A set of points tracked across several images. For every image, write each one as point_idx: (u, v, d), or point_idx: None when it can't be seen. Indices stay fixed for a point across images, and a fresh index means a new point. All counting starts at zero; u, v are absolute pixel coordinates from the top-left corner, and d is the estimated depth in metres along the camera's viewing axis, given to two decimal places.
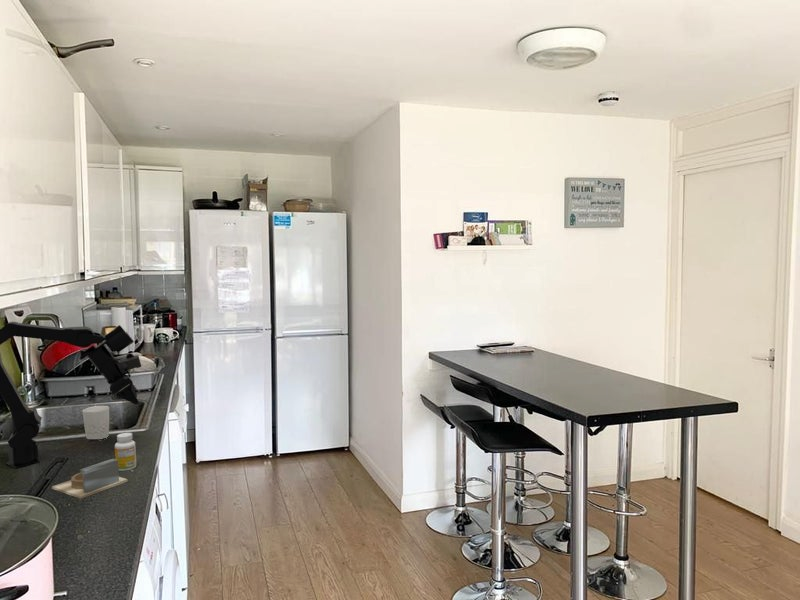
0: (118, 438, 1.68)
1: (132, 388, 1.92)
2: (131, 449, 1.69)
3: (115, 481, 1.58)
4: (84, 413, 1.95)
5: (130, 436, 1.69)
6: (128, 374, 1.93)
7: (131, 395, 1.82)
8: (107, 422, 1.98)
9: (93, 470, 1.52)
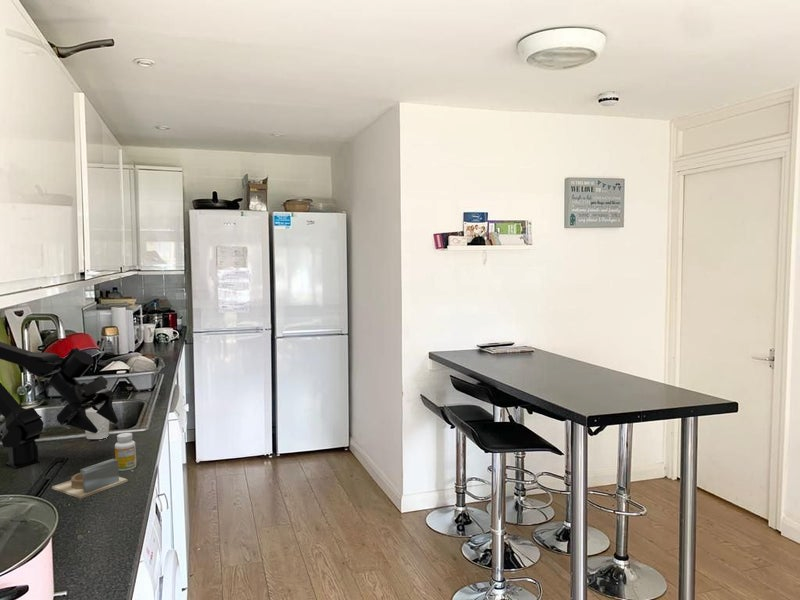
0: (118, 438, 1.68)
1: (112, 413, 1.75)
2: (131, 449, 1.69)
3: (115, 481, 1.58)
4: None
5: (130, 436, 1.69)
6: None
7: (86, 424, 1.65)
8: (107, 422, 1.98)
9: (93, 470, 1.52)
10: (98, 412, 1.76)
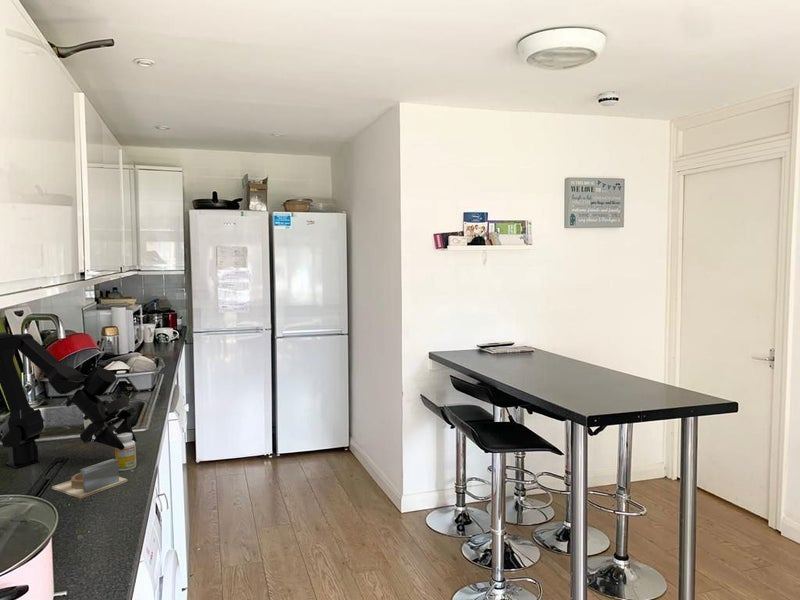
0: (118, 438, 1.68)
1: (130, 432, 1.73)
2: (131, 448, 1.69)
3: (115, 481, 1.58)
4: None
5: (130, 436, 1.69)
6: None
7: (113, 441, 1.66)
8: None
9: (93, 470, 1.52)
10: (116, 431, 1.74)
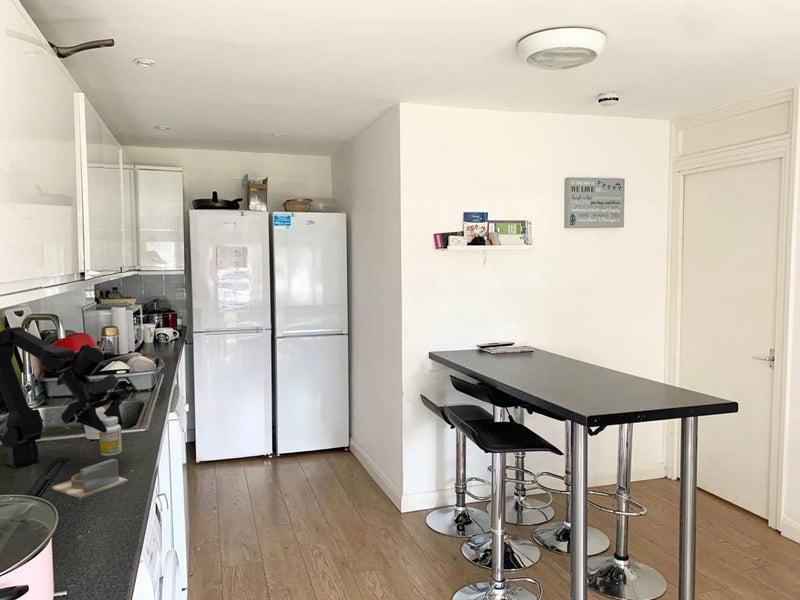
0: (102, 421, 1.62)
1: (117, 415, 1.66)
2: (115, 433, 1.62)
3: (115, 481, 1.58)
4: None
5: (114, 420, 1.63)
6: None
7: (95, 423, 1.60)
8: None
9: (93, 470, 1.52)
10: (105, 413, 1.68)
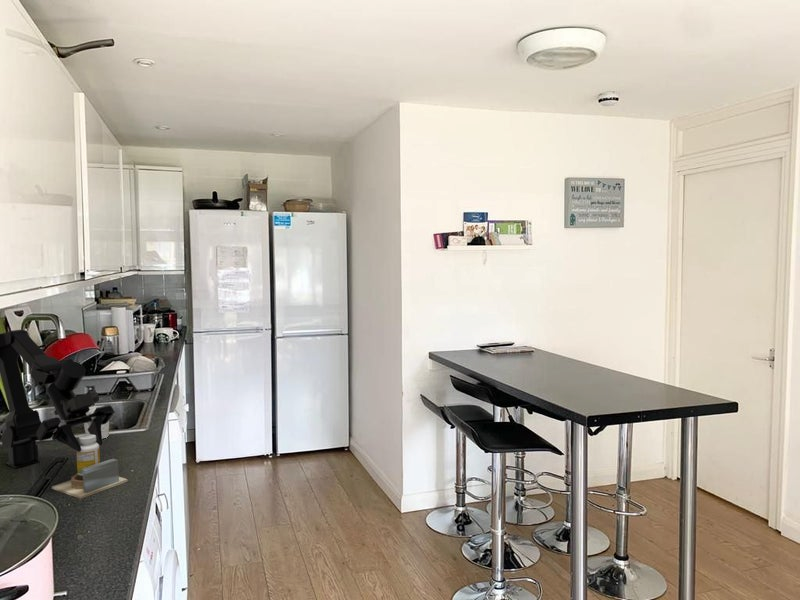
0: (79, 440, 1.56)
1: (97, 433, 1.60)
2: (90, 453, 1.55)
3: (115, 481, 1.58)
4: None
5: (90, 439, 1.56)
6: None
7: (70, 441, 1.54)
8: (107, 422, 1.98)
9: (93, 470, 1.52)
10: (88, 430, 1.62)
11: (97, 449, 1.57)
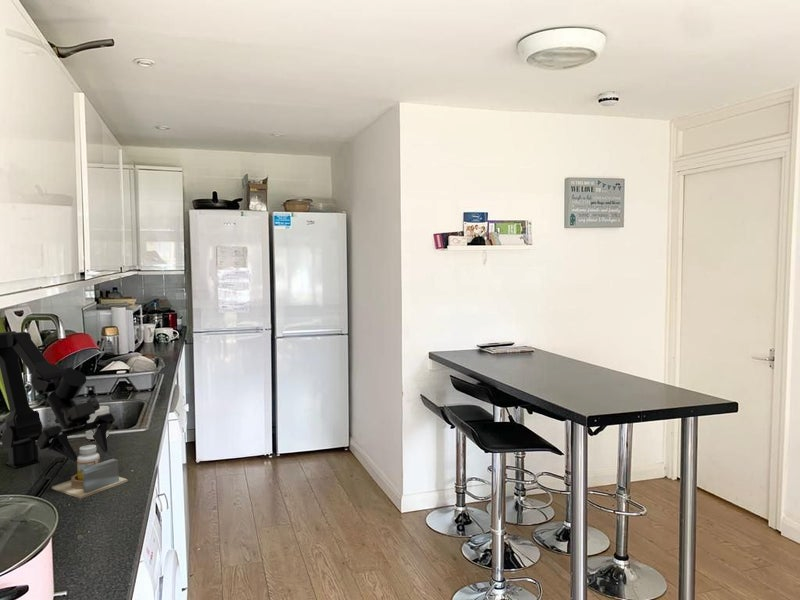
0: (79, 450, 1.56)
1: (102, 440, 1.61)
2: (90, 463, 1.55)
3: (115, 481, 1.58)
4: None
5: (91, 449, 1.56)
6: None
7: (66, 451, 1.53)
8: None
9: (93, 470, 1.52)
10: (94, 437, 1.63)
11: (98, 459, 1.57)
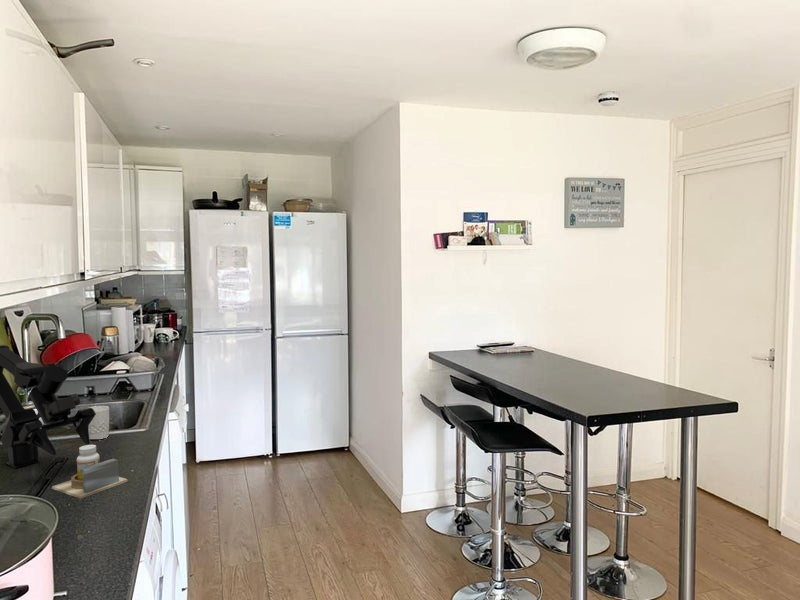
0: (79, 450, 1.56)
1: (84, 433, 1.66)
2: (90, 463, 1.55)
3: (115, 481, 1.58)
4: None
5: (91, 449, 1.56)
6: None
7: (45, 445, 1.58)
8: (107, 422, 1.98)
9: (93, 470, 1.52)
10: (76, 430, 1.69)
11: (97, 459, 1.57)
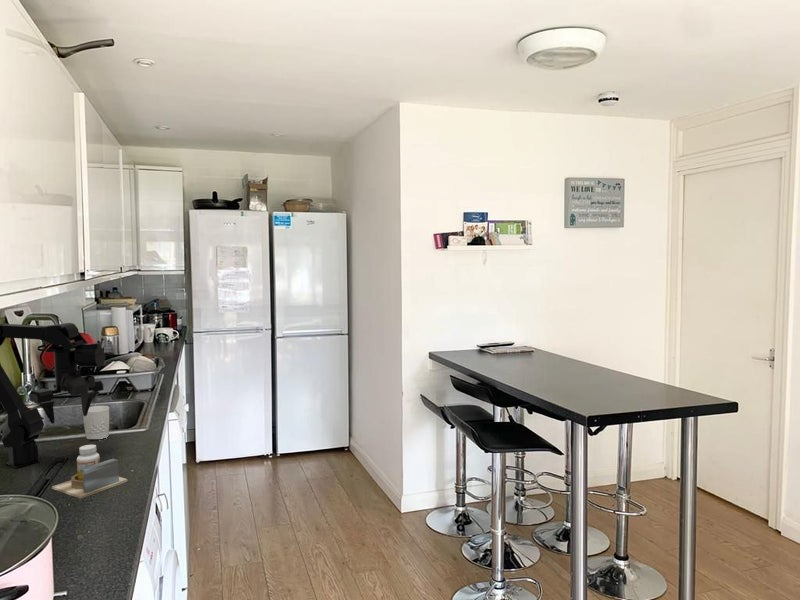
0: (79, 450, 1.56)
1: (86, 406, 1.77)
2: (90, 463, 1.55)
3: (115, 481, 1.58)
4: None
5: (91, 449, 1.56)
6: (97, 392, 1.78)
7: (48, 413, 1.69)
8: (107, 422, 1.98)
9: (93, 470, 1.52)
10: (81, 393, 1.79)
11: (97, 459, 1.57)
